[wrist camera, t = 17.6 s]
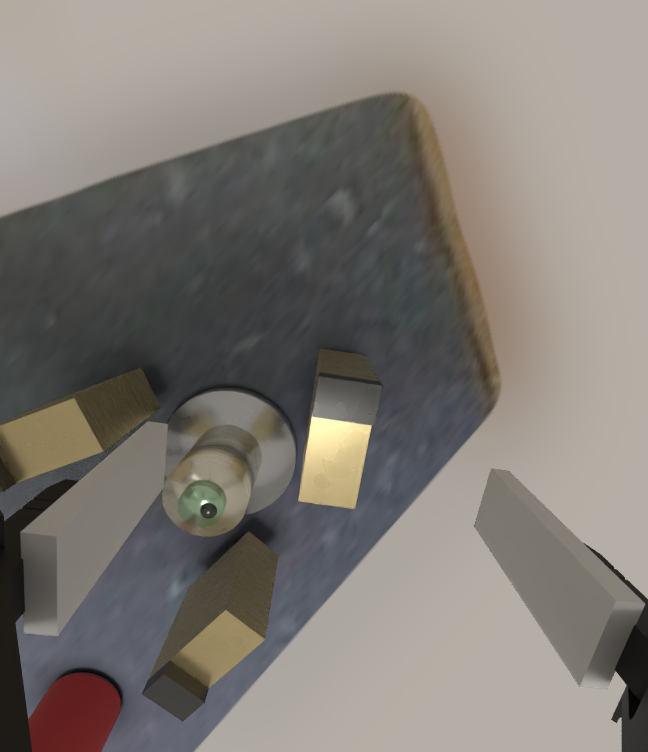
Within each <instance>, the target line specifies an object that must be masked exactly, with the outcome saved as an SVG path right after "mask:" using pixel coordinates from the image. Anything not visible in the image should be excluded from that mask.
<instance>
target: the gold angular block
mask: <svg viewBox="0 0 648 752" xmlns="http://www.w3.org/2000/svg"><path fill="white" fill-rule="evenodd" d="M160 408H161V407H160V405H159V403H158V401H157V399H156V397H155V395H154V393H153V391H152V389H151V387H150V385H149V383H148V381H147V379H146V377H145V375H144V373H143V371H142V369H141V367H140V368H138V369H135V370H132V371H130V372H127V373H124V374H122V375H119V376H116V377H114V378H111V379H108V380H106V381H103V382H100V383H98V384H95V385H92V386H90V387H87V388H84V389H82V390H79V391H76V392H74V393H71V394H69V395H66V396H63V397H61V398H58V399H55V400H53V401H50V402H47V403H45V404H43V405H40V406H38V407H36V408H33V409H31V410H29V411H26V412H24V413H22V414H20V415H17V416H15V417H13V418H10V419H8V420H6V421H3V422H1V423H0V492H3V491H5V490H6V489H8V488H9V487H11V486H12V485H14V484H16V483H18V482H20V481H23V480H26V479H29V478H32V477H34V476H37V475H40V474H43V473H45V472H48V471H51V470H54V469H57V468H59V467H62V466H65V465H68V464H70V463H73V462H76V461H79V460H82V459H84V458H87V457H90V456H93V455H95V454H98V453H101V452H104V451H105V450H106V449H107V448H109V447H110V446H111V445H113V444H114V443H115V442H117V441H118V440H119V439H121V438H122V437H123V436H124V435H126V434H127V433H128V432H130V431H131V430H132V429H134V428H135V427H136V426H137V425H139V424H140V423H141V422H143V421H144V420H145V419H147V418H148V417H149V416H150V415H152V414H153V413H154V412H156V411H157V410H158V409H160Z"/></svg>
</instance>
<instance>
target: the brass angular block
mask: <svg viewBox="0 0 648 752" xmlns="http://www.w3.org/2000/svg"><path fill="white" fill-rule="evenodd" d="M382 388H383V385H382V384H381V382H380V380H379V379H378V377H377V375H376V374H375V372H374V370H373V369H372V367H371V365H370V364H369V362H368V360H367V359H366V357H365V355H360V354H354V353H347V352H341V351H334V350H328V349H321V348H320V349H319V355H318V362H317V368H316V374H315V381H314V387H313V393H312V400H311V406H310V413H309V419H308V425H307V432H306V438H305V444H304V453H303V463H302V472H301V481H300V491H299V500H298V501H301V502H308V503H315V504H322V505H330V506H337V507H344V508H352V509H355V506H356V501H357V496H358V491H359V486H360V481H361V476H362V471H363V466H364V461H365V456H366V451H367V446H368V441H369V436H370V431H371V426H375V422H376V417H377V412H378V407H379V402H380V398H381V393H382Z"/></svg>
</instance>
